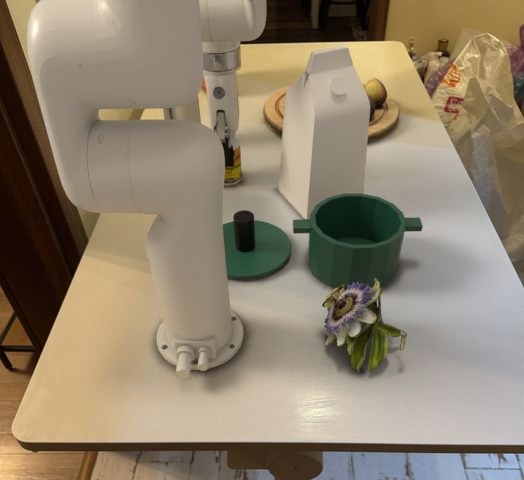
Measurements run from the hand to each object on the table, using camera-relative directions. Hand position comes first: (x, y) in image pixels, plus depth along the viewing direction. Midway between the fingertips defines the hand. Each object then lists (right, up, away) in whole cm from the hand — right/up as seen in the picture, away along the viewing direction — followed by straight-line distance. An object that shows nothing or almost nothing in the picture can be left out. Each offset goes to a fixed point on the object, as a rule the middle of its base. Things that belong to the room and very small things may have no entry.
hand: (226, 156), depth 101 cm
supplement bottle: (0, -3, +4) cm, 5 cm away
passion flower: (+21, -37, -27) cm, 50 cm away
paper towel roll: (-10, +8, +15) cm, 20 cm away
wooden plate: (+23, +18, +22) cm, 37 cm away
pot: (+22, -23, -15) cm, 35 cm away
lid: (+4, -21, -13) cm, 24 cm away
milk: (+18, -8, -1) cm, 20 cm away
